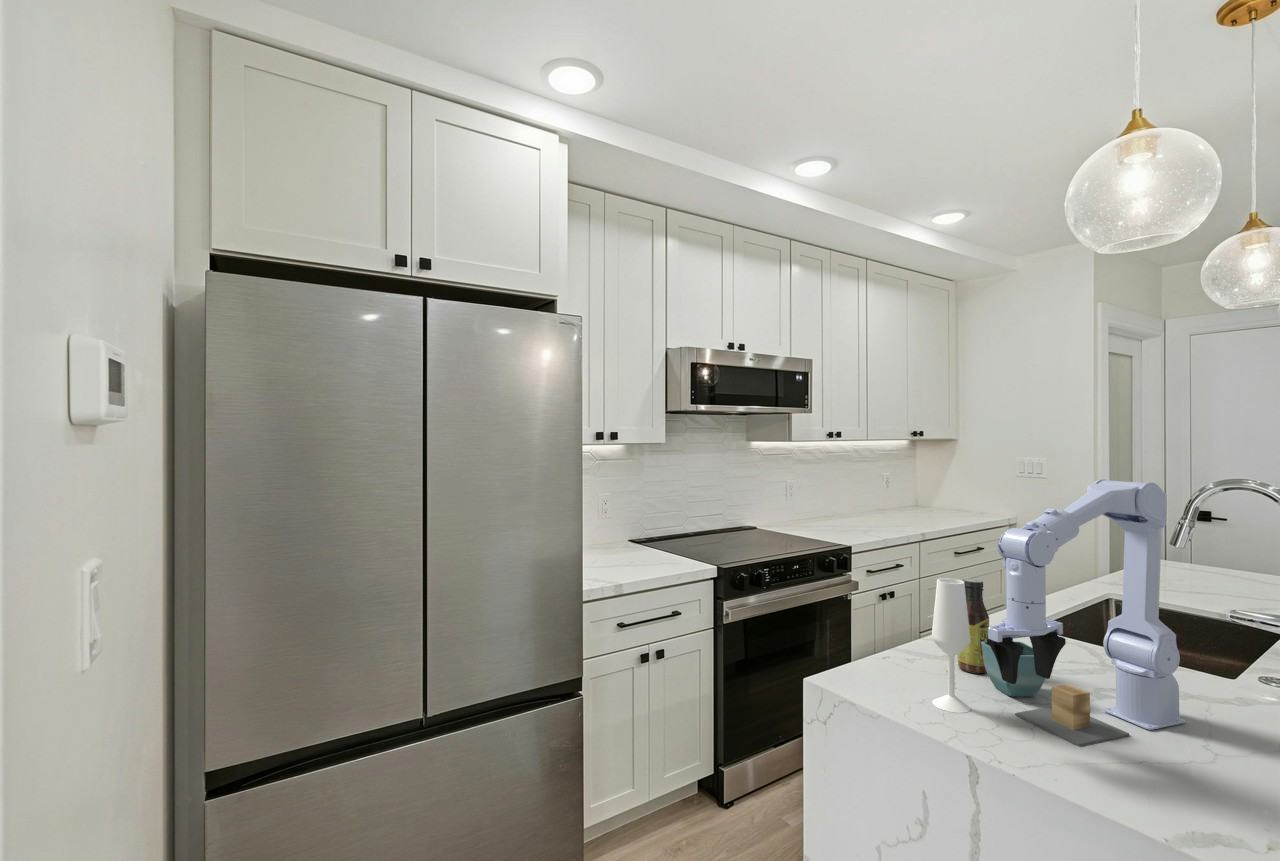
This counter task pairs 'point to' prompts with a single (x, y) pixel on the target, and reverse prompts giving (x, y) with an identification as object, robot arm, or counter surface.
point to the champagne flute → (951, 634)
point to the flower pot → (1026, 673)
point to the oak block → (1071, 706)
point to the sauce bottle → (974, 628)
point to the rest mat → (1078, 736)
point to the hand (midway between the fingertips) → (1026, 679)
